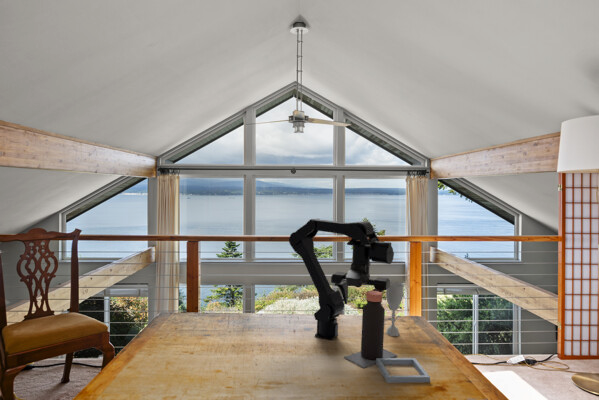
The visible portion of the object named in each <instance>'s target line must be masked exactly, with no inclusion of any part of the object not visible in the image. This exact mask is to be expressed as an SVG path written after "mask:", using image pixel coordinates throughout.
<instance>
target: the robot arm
mask: <svg viewBox="0 0 599 400" xmlns="http://www.w3.org/2000/svg"><path fill="white" fill-rule="evenodd" d="M319 232H325V233H331V234H332V233H333V234H340V235H345V236H346V237H347V238H349V239H350V240H349V241H348V242H346V245H347V246H352V260H351V261H352V262H351V264H350V269H349V270H348V271H347V272H342V271H336V272H335V273H333V274H332V275H331V277H330V279H331V280H330V282H331V283H332V284H334V286H336V287H338V289H339V290H334V289H333V288H332V287H331V285H330V283H329V281H328V279H327V276H326V273H324V270H323V268H322V266H321V264H320V262H319V260H318V258H317V256H316V254H315V250H314V249H315V246H314V245H315V243H314V238H315V237H316V236H317V234H318V233H319ZM288 243H289V245H290V246H291V248H292V249H293V251H294V252H295V253H296V254H297V255H298V256H299V257H301V260H302V261H303V263H304V266H305V268H306V270H307V272H308V274H309V276H310V279H311V280H312V283H313V285H314V287H315V289H316V291H317V293H318V305H319V308H318V310H316V311H315V312H314V313H313V316H314V319H315V321H316V333H315V334H314V337H317V338H321V339H326V340H332V341H333V339H334V338H336V337H337V336H338V335H339V323H338V317H339V316H340V314H341V313H342V312H344V308H345V305H347V304H348V302H349V301H348V300H349V287H355V288H361V287H362V285H369V286H373V289H372V291H379V292H381V293H383V292H384V291H386V290H387V289H388V288H389V287H390V282H391V281H390V279H389V277H380V276H377V278H375V279H373V278H370V277H371V274H370V266H371V262H372V263H373V262H374V263H380V264H386V265H391V264H392V263H393V261H394V257H395V256H394V255H395V252H394V248H393V246H392V242H390V241H385V242H384V241H380V239H379V237H378V236H377V234H376V232H375V231H374V225H372V224H371V222H370V221H366V220H365V221H354V222H353V221H352V222H345V221H344V222H343V221H333V220H327V219H320V218H311V219H309V220H308V221H307V222H306V223H305V224H304V225H302V226H301V227H299V228H298V229H297V230H296V231H294V232H292V233H290V235H289V239H288Z"/></svg>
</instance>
